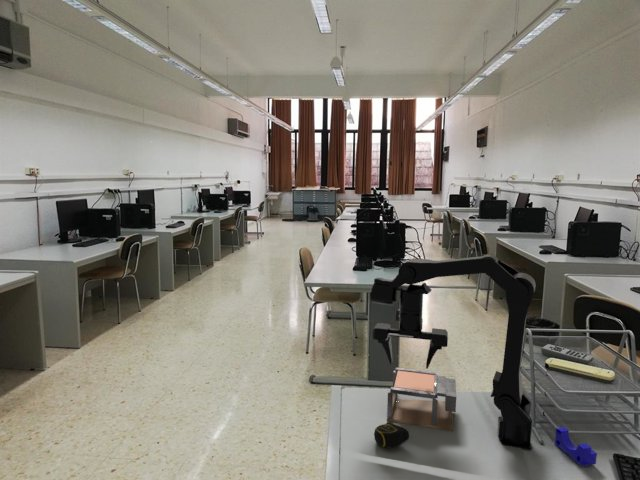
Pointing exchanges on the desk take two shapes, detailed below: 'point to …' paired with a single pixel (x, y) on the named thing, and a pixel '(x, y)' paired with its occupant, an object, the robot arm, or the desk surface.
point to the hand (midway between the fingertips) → (408, 365)
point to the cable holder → (574, 448)
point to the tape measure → (390, 435)
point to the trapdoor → (429, 386)
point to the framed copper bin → (417, 407)
